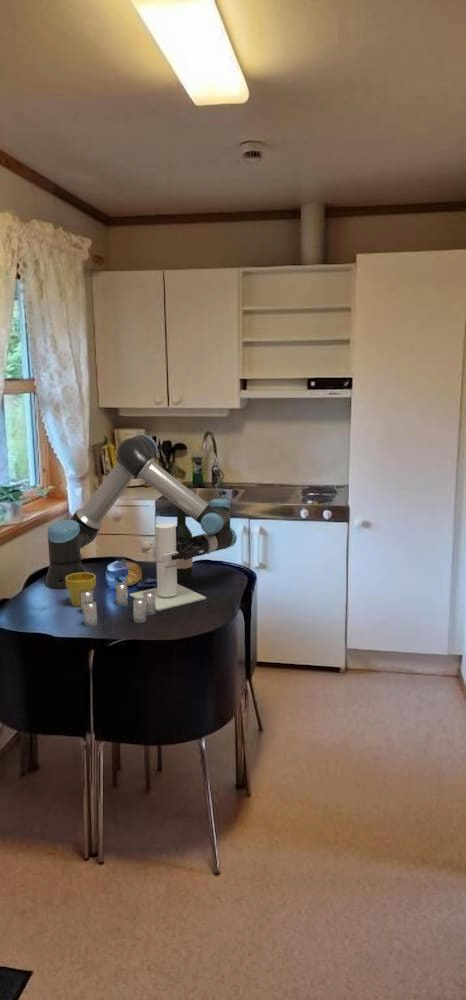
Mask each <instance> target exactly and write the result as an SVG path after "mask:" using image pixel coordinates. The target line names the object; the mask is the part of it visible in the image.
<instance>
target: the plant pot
mask: <svg viewBox="0 0 466 1000" xmlns="http://www.w3.org/2000/svg"><path fill="white" fill-rule="evenodd" d="M96 584H97V577H96V574H94V573H91V572H86V571H85V572H81V573H73V574H70V575H68V576H67V577H66V587H67V588H66V589H67V590H68V594H69V597H70V601H71V605H72V606H74V607H81V591H84V590H92V591H93V592H94V588H95V587H96Z"/></svg>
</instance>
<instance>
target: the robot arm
mask: <svg viewBox="0 0 466 1000" xmlns="http://www.w3.org/2000/svg"><path fill="white" fill-rule="evenodd" d="M158 451H159V450H158V445H157V443H156V441H155V440H154V439H153V438H152V437H150V436H148V435H146V434H138V435H134V436H133V437H129V438H126V439H124V440H123V441H121V442H120V444H119V445H118V447H117V450H116V457H115V461H116V463H115V465H114V466H113V467H112V469H111V470H110V472H109V473H108V474H107V476H106V477H105V478H104V480H103V481H102V482H101V484H100V485H98V486H99V487H98V488H97V489H96V490H95V492H94V493H93V494H92V496H91V497H90V498H89V499H88V501H87V503H86V504H85V505H84V506H83V507H82V508H78V509H76V511H75V512H74V514H72V516H71V518H70V519H62V520H59V521H53V522H52V523H50V524H49V526H48V527H47V541H48V544H47V545H48V546H47V547H48V558H49V560H48V561H49V567H48V569H47V574H46V577H45V585H46V586H47V587H49V588H51V589H60V590H61V589H62V590H64V589H68V588H67V587H66V577H67V576H68V575H70V574H73V573H81V572H86V571H85V569H84V566H83V564H82V557H81V556H82V555H81V550H82V548H84V547H85V546H87V545H89V544H91V543H92V542H93V541H95V539H96V537H97V535H98V532H99V531H100V529H101V528H102V526H103V525H102V520H103V519H104V518H105V516H106V515H107V514H108V512H109V511H110V510H111V509H112V507H113V506H114V505H115V503H116V502H117V500H118V499H119V498H120V496H121V495H122V494H123V492H124V491H125V490H126V488H127V487H128V486H129V485H130V483H131V482H132V481H133V480H134V478H136V479H137V480H142V481H144V482H145V483H147V484H148V485H149V486H151V487H152V488H153V489H154V490H155V491H157V492H158V493H160V494H161V495H162V496H163V497H165V498H166V499H168V501H170V502H171V503H173V505H175V506H176V507H177V506H178V507H179V508H180V509H181V510H183V511H184V512H185V514H187V516H189V517H190V518H192V519H193V520H195V522H197V523H198V524H199V525H200V527H201V530H202V531H203V532H205V533H201V534H198V535H194V536H193V535H192V538H191V539H190V540H189V542H184V543H180V541H178V542H176V552H173V553H169V554H166V555H163V563H167V562H171V561H174V560H178V559H183V558H184V560H187V559H190V558H192V559H193V558H195V557H201V556H204V555H209V554H211V553H214V552H217V551H222V550H227V549H228V548H231V547H233V546H234V545H235V544H236V542H237V538H238V537H237V535H236V531H235V530H234V529H233V528H231V510H232V508H231V501H230V500H229V499H227V498H213V499H212V500H210V504H209V503H207V502H206V501H205V500H203V499H202V498H201V497H199V495H197V494H196V493H195V492H194V491H192V490H191V489H189V488H188V487H187V486H185V484H183V483H182V482H181V481H179V480H178V479H177V478H175V477H174V476H173V475H171V474H170V473H169V472H168V471H166V470H165V469H164V468H163V467H162V466H160V465H159V464H157V462H155V460H156V458H157V457H158V454H159V453H158ZM178 552H179V554H178ZM146 553H147V559H148V560H149V559H154V558H156V548H155V549H151V550H147V552H146Z"/></svg>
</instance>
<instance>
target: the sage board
mask: <svg viewBox="0 0 466 1000" xmlns="http://www.w3.org/2000/svg"><path fill="white" fill-rule="evenodd" d="M147 591H153V592H155V601H156V612H160V611H163V610H167V609H168V610H169V609H171V608H175V607H181V606H183V605H188V604H191V603H195V602H199V601H203V600H207V597H206V596H204V595H202V594H200V593H198V592H195V591H194V590H192V589H189V588H187V587H185V586H182V584H179V583H177V595H175V596H170V597H162V596H159V595H158V594H157V587H153V588H150V589H145V590H141V591H136V592H132V593H129V594H128V596H130V597H131V598H132V599H136V598H143V593H144V592H147Z"/></svg>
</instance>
